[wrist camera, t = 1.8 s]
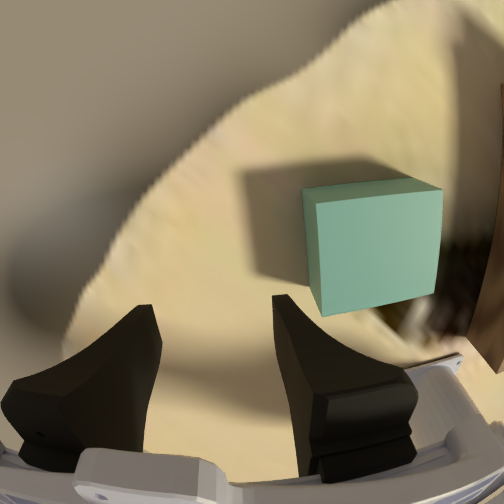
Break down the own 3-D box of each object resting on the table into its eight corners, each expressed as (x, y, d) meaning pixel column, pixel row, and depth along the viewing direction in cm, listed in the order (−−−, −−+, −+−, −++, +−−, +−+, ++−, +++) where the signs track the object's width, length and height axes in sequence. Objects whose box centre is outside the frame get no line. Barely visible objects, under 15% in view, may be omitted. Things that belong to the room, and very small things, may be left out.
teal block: (407, 267, 22) (433, 293, 18) (308, 285, 22) (322, 317, 18) (410, 176, 19) (443, 189, 16) (300, 188, 19) (315, 203, 16)
